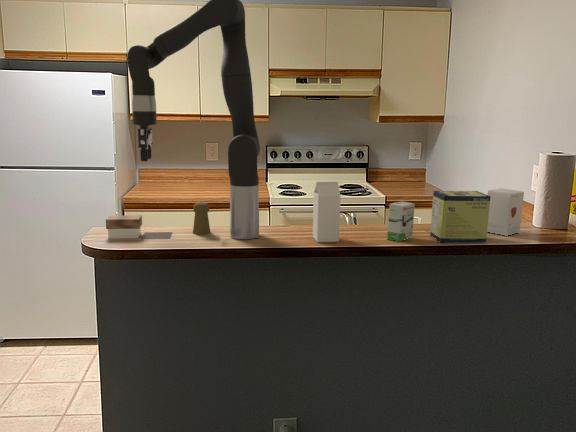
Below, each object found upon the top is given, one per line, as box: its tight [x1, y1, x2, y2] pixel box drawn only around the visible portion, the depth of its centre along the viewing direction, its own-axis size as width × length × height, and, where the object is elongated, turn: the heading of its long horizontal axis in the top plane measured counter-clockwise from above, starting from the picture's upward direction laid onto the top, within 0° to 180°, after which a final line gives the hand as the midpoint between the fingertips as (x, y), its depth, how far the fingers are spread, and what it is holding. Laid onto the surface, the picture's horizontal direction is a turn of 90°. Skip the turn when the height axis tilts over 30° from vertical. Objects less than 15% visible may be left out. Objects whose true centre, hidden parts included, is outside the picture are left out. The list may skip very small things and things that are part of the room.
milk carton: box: [312, 181, 342, 243], centre depth 168 cm, size 7×7×19 cm
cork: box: [192, 201, 211, 236], centre depth 172 cm, size 6×6×11 cm
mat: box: [140, 231, 173, 240], centre depth 168 cm, size 9×9×1 cm
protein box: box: [429, 190, 491, 243], centre depth 172 cm, size 10×16×16 cm
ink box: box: [386, 200, 416, 242], centre depth 172 cm, size 9×5×12 cm, turn 137°
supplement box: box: [487, 188, 525, 237], centre depth 182 cm, size 9×9×15 cm
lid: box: [105, 214, 143, 230], centre depth 166 cm, size 10×6×3 cm, turn 97°
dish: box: [107, 226, 142, 239], centre depth 167 cm, size 9×6×4 cm, turn 97°
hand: (146, 159), depth 174 cm, fingers open, 8 cm apart
